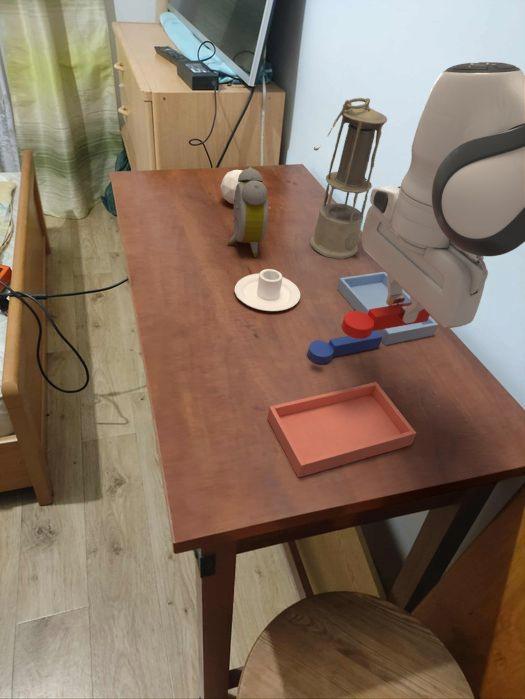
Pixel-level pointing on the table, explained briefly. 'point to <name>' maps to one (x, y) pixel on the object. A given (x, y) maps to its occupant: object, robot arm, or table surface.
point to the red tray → (339, 428)
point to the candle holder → (267, 291)
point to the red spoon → (377, 320)
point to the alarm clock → (250, 210)
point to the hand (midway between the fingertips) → (399, 312)
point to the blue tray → (381, 305)
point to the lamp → (348, 181)
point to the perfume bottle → (230, 185)
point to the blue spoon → (341, 347)
